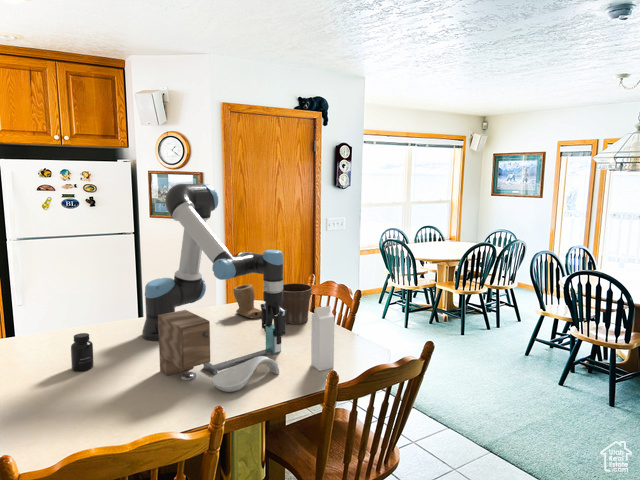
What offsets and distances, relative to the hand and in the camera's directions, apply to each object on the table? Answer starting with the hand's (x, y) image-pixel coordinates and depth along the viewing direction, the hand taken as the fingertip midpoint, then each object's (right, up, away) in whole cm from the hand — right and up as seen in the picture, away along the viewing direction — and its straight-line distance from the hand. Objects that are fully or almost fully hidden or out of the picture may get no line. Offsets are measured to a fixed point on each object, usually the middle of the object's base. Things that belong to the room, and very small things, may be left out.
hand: (273, 349), depth 178 cm
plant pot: (+6, +4, +38) cm, 39 cm away
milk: (+19, -3, -14) cm, 23 cm away
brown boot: (-17, +5, +45) cm, 49 cm away
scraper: (-10, -2, -9) cm, 13 cm away
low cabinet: (-28, -3, -22) cm, 36 cm away
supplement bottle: (-65, -3, -17) cm, 67 cm away
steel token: (-26, -4, -24) cm, 36 cm away
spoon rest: (-6, -5, -27) cm, 28 cm away
